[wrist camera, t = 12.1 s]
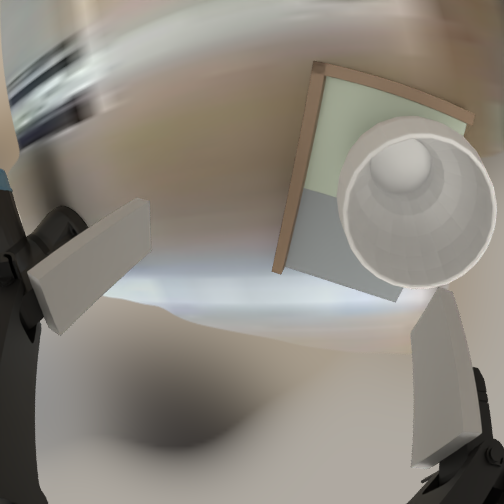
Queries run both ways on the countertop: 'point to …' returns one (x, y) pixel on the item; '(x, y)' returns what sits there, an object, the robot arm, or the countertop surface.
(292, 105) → the countertop surface
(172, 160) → the countertop surface
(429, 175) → the cup
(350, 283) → the rail board
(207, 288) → the countertop surface
